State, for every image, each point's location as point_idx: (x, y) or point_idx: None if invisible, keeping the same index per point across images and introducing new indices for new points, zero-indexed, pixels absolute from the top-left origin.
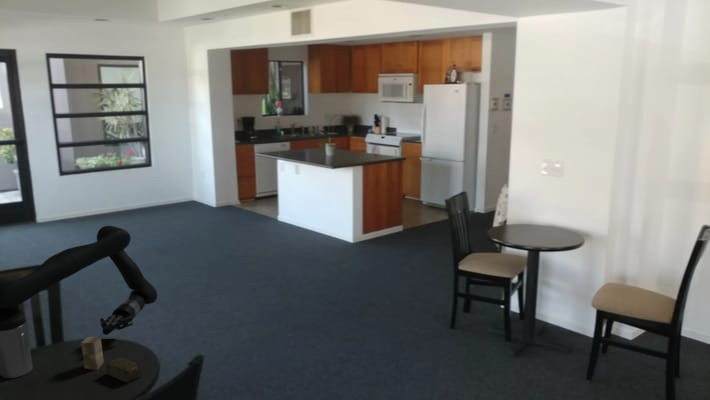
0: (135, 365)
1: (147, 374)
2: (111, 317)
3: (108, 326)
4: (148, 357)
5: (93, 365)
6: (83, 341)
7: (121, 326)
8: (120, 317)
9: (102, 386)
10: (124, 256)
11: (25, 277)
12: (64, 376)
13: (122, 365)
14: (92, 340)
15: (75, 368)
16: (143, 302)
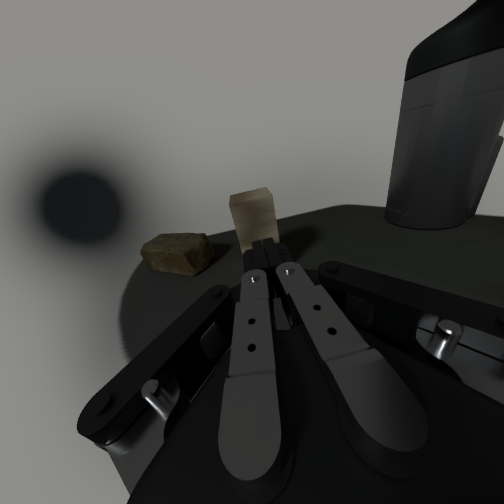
0: (145, 244)
1: (137, 277)
2: (367, 346)
3: (263, 255)
4: (127, 330)
5: None
6: (265, 189)
7: (219, 349)
8: (229, 371)
9: (211, 242)
10: None
11: None
12: (298, 236)
13: (170, 236)
14: (242, 195)
15: (303, 252)
16: None
